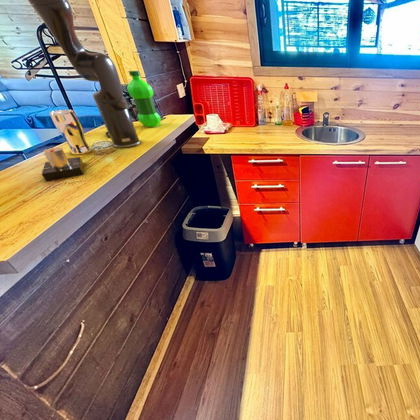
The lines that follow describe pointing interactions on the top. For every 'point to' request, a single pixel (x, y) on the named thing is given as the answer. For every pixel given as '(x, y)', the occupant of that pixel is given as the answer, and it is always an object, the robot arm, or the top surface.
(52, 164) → the dial
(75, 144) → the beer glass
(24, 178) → the top surface
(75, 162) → the black flat block
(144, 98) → the plastic bottle
